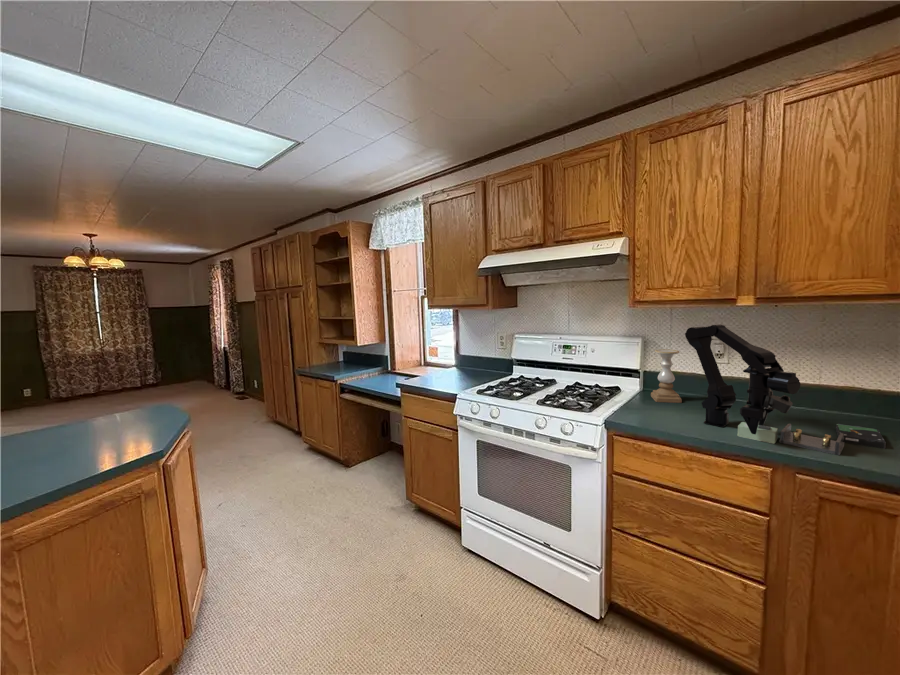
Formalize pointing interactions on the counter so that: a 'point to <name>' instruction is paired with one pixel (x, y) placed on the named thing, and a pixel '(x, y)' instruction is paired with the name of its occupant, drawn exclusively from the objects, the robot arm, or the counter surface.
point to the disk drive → (861, 435)
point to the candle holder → (666, 379)
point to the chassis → (812, 441)
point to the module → (758, 433)
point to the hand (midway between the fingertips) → (757, 430)
